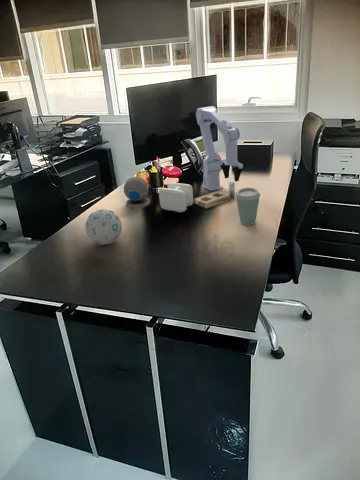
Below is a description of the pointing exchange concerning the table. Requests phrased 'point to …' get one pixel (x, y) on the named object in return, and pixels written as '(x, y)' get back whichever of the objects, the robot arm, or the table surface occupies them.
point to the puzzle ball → (103, 226)
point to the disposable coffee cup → (247, 205)
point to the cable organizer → (176, 197)
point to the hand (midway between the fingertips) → (231, 179)
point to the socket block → (212, 199)
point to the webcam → (136, 192)
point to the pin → (232, 189)
